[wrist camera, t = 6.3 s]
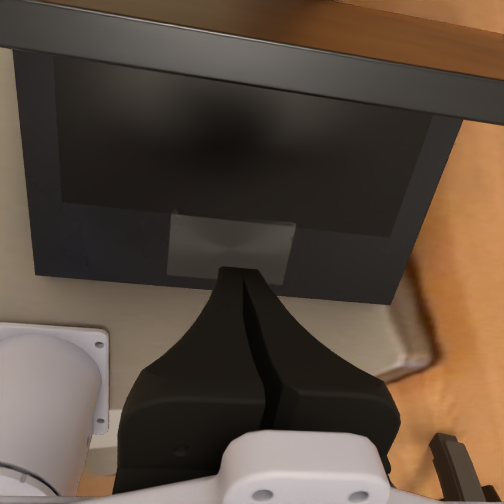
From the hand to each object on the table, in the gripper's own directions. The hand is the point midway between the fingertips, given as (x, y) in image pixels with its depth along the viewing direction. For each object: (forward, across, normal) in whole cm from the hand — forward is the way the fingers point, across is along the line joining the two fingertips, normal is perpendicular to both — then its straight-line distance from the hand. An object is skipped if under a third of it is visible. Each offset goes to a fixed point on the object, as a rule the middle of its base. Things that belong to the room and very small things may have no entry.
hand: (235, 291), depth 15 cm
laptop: (+10, 0, -1) cm, 10 cm away
